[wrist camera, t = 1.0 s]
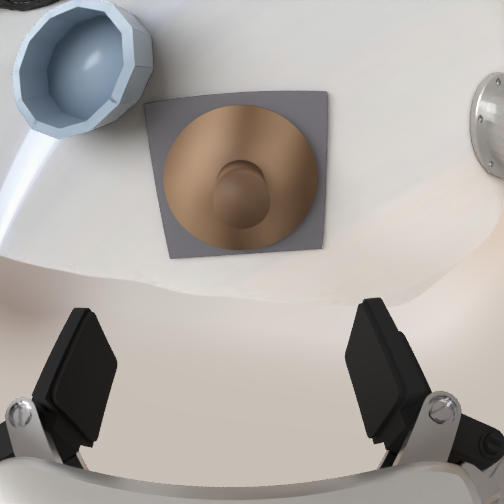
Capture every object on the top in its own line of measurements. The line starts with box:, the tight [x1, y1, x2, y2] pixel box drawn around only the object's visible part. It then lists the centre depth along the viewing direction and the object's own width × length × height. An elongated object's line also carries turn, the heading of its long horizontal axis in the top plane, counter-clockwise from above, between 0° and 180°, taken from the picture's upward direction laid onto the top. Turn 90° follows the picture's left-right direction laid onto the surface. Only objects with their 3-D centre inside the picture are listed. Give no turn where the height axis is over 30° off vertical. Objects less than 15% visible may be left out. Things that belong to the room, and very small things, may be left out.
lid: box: [163, 105, 318, 250], centre depth 23 cm, size 13×13×6 cm
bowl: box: [12, 0, 154, 139], centre depth 18 cm, size 11×11×5 cm
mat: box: [144, 91, 327, 259], centre depth 26 cm, size 15×15×1 cm
